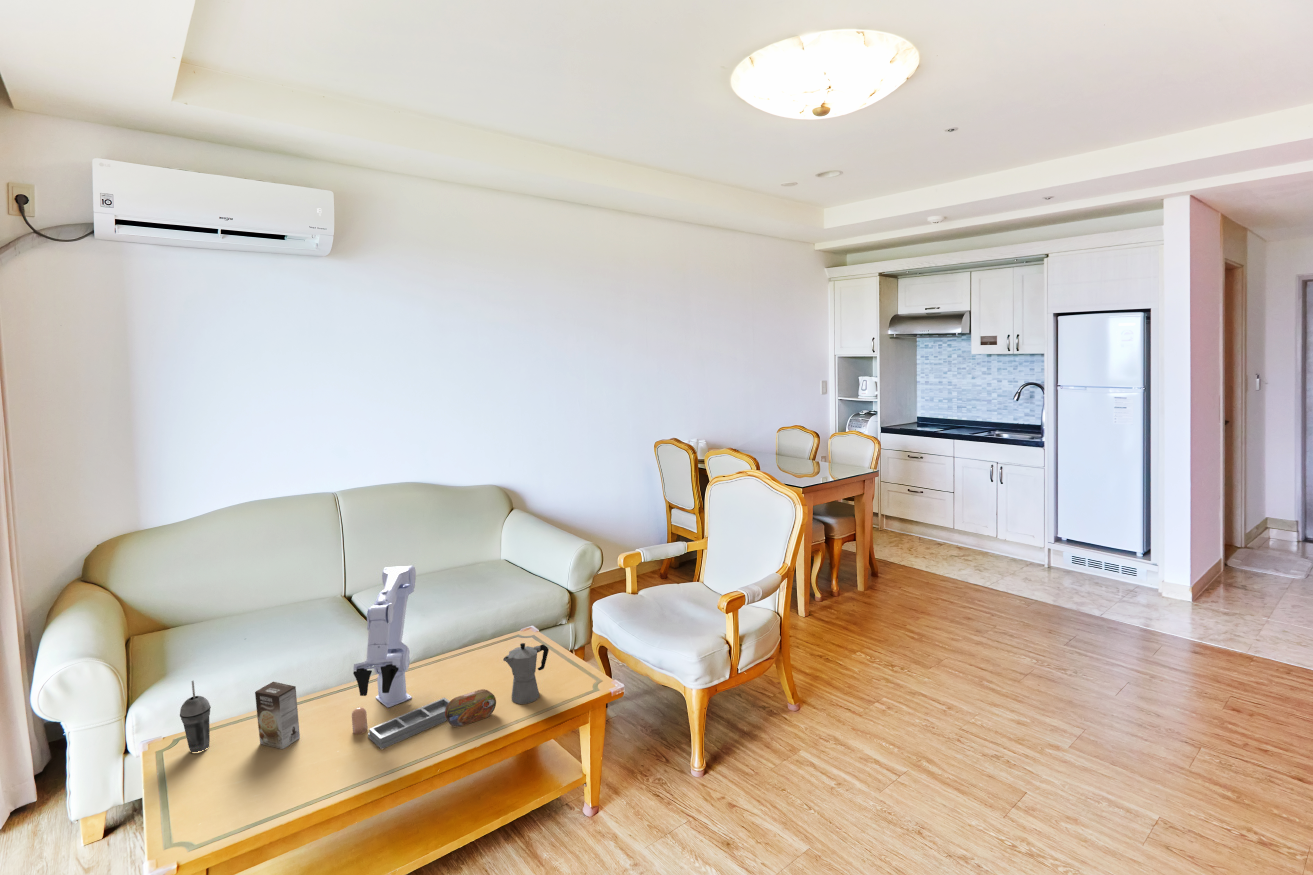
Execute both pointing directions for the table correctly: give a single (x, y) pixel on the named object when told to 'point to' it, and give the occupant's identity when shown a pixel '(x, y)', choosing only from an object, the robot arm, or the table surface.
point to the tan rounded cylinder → (359, 720)
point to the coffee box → (277, 715)
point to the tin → (470, 708)
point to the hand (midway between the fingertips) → (374, 694)
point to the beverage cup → (196, 721)
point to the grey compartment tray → (408, 724)
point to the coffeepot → (525, 672)
